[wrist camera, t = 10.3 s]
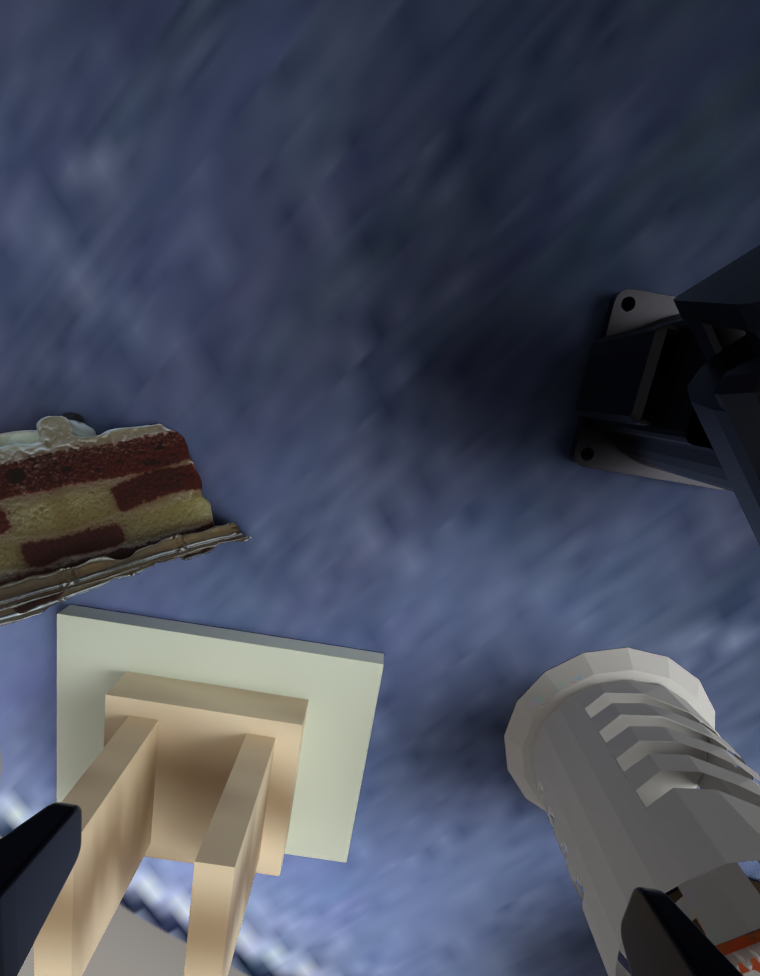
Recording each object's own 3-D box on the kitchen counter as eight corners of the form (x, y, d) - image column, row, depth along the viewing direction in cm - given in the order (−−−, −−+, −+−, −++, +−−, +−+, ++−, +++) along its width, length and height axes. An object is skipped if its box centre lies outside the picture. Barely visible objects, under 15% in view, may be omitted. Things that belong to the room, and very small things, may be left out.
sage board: (384, 653, 20) (383, 664, 19) (347, 845, 22) (346, 862, 21) (70, 604, 19) (57, 613, 19) (68, 805, 22) (56, 820, 21)
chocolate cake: (217, 368, 18) (-308, 370, 10) (268, 535, 17) (-248, 681, 9) (162, 448, 25) (-167, 487, 17) (196, 568, 24) (-128, 666, 16)
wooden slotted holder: (286, 842, 21) (244, 1037, 15) (120, 817, 21) (4, 1004, 15) (308, 699, 19) (271, 851, 13) (127, 671, 19) (-2, 811, 13)
